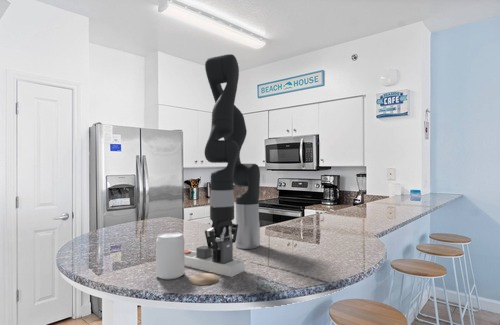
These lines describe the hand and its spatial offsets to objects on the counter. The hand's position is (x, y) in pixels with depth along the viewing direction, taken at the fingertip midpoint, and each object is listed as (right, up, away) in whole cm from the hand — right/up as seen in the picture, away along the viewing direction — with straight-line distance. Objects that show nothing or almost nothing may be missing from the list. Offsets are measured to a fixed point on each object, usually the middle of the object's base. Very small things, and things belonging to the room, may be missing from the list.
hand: (222, 259), depth 98 cm
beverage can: (-15, -4, -5) cm, 16 cm away
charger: (0, -1, 0) cm, 1 cm away
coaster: (-4, -3, -8) cm, 10 cm away
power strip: (-6, -3, +4) cm, 8 cm away
